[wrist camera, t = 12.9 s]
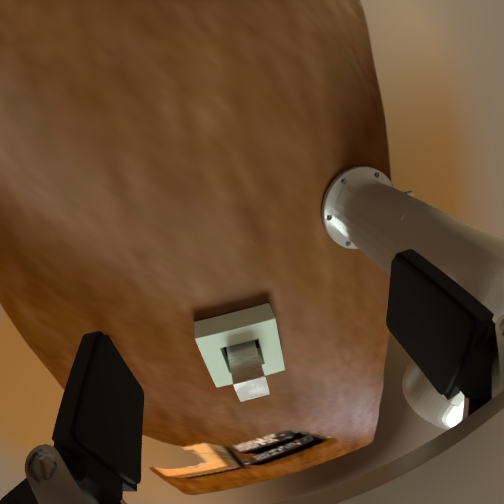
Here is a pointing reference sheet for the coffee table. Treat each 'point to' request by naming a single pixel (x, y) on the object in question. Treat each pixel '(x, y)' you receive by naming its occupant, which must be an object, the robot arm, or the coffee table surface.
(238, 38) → the coffee table surface
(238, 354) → the steel bar
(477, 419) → the robot arm
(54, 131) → the coffee table surface
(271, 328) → the well block
